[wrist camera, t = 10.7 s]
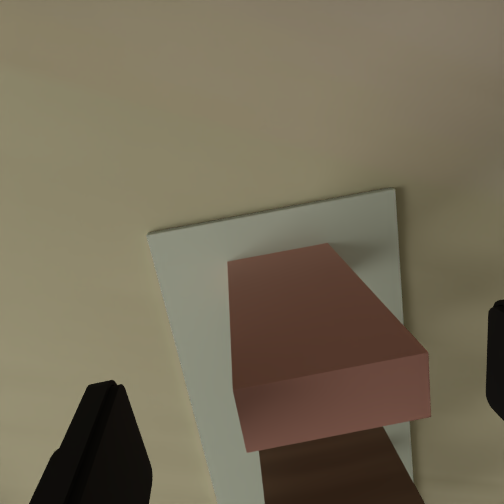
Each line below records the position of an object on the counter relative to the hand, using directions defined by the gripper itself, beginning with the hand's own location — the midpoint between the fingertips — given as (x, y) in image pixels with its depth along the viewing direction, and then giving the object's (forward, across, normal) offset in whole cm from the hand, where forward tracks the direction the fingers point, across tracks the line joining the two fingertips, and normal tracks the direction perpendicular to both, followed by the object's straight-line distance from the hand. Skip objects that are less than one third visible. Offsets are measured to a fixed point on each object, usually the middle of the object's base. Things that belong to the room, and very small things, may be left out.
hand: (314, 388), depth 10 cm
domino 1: (+10, -1, +1) cm, 10 cm away
